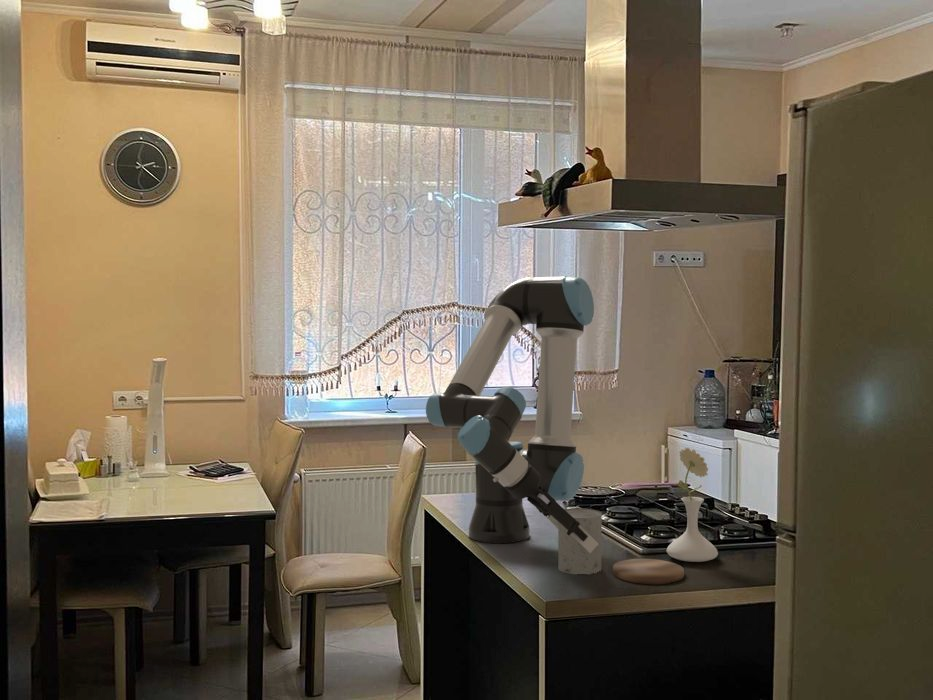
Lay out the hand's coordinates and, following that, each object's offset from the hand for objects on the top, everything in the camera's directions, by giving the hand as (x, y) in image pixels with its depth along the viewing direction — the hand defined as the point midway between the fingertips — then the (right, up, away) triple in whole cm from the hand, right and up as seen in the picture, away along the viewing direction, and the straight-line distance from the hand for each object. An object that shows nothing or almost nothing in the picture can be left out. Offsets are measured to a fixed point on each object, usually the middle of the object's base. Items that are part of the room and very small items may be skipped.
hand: (582, 540), depth 213 cm
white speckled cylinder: (0, -7, +1) cm, 7 cm away
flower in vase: (+26, -6, +9) cm, 28 cm away
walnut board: (+14, -7, -4) cm, 16 cm away
